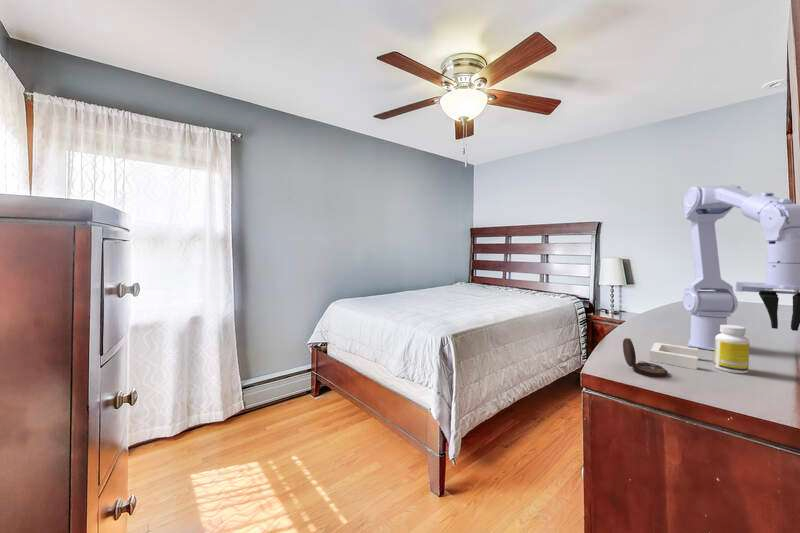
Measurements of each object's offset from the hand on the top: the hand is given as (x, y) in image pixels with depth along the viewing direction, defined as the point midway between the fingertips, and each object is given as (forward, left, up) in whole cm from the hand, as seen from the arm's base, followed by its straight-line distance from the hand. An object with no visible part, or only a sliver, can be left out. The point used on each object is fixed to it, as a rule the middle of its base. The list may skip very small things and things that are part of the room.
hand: (784, 328), depth 68 cm
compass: (+13, -22, -11) cm, 28 cm away
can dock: (0, -17, -10) cm, 20 cm away
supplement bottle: (0, -8, -11) cm, 13 cm away
